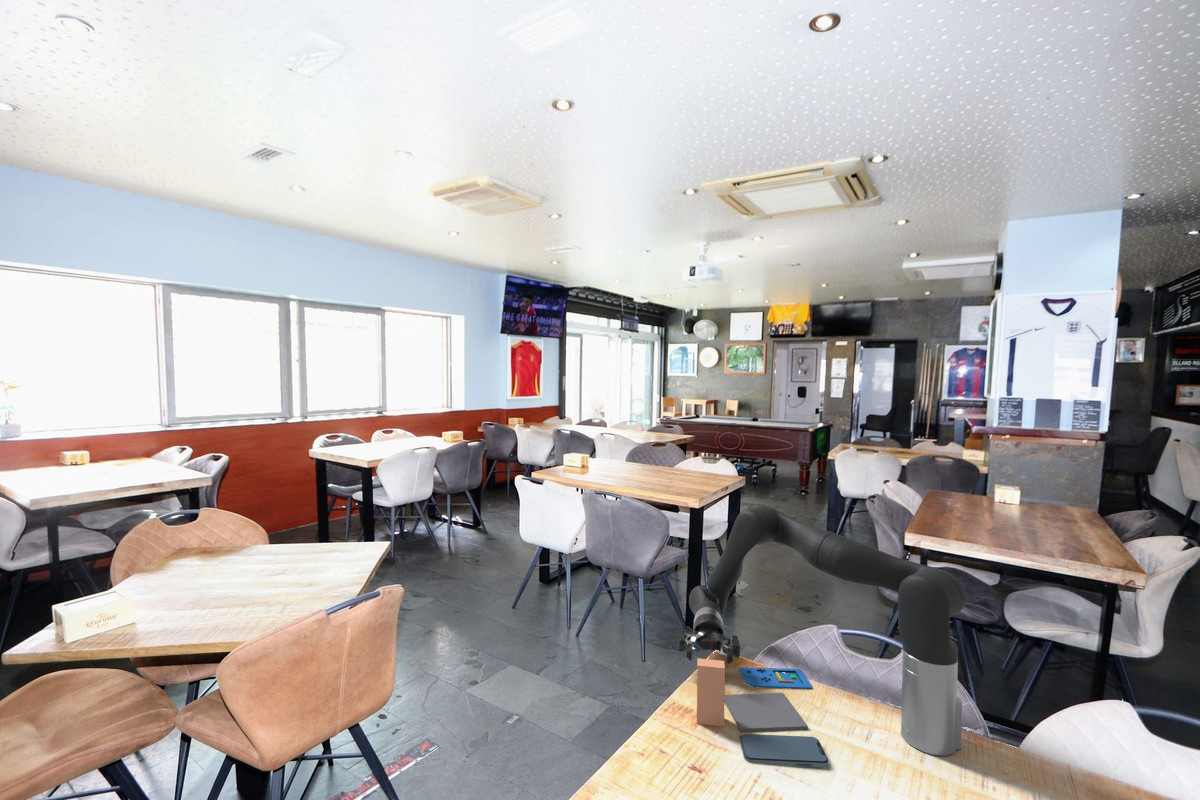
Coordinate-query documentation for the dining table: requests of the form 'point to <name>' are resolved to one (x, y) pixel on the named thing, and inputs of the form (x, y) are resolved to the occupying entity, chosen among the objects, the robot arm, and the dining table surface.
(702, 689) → the tan rectangular block
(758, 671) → the handheld gaming device
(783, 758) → the smartphone
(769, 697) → the rubber mat
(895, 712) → the dining table surface
